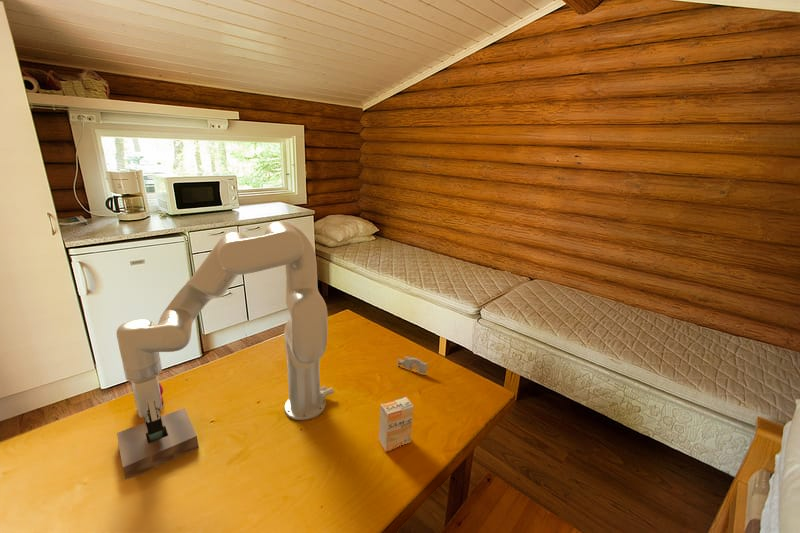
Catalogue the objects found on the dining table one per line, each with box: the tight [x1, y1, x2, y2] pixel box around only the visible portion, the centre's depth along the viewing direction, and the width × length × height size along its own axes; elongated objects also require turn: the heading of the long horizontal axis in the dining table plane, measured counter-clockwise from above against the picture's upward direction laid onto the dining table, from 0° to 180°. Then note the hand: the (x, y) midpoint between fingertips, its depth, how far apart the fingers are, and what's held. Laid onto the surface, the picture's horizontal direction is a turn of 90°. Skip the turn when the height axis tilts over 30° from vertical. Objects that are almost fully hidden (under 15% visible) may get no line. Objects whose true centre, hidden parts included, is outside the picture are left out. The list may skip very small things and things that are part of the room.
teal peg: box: [144, 413, 163, 442], centre depth 94 cm, size 3×3×11 cm
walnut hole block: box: [116, 407, 200, 481], centre depth 96 cm, size 16×14×4 cm
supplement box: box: [378, 396, 414, 453], centre depth 100 cm, size 8×5×13 cm, turn 117°
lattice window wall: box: [397, 355, 429, 374], centre depth 135 cm, size 12×2×6 cm, turn 62°
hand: (154, 427), depth 95 cm, fingers closed on teal peg, 3 cm apart
